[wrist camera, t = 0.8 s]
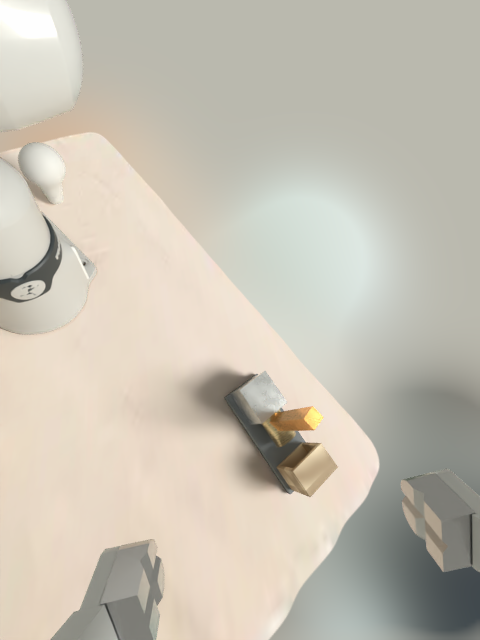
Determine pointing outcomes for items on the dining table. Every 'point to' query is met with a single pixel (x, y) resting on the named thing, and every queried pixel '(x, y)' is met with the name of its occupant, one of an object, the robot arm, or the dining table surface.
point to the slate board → (266, 441)
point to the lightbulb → (43, 169)
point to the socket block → (307, 468)
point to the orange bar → (291, 424)
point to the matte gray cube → (259, 398)
